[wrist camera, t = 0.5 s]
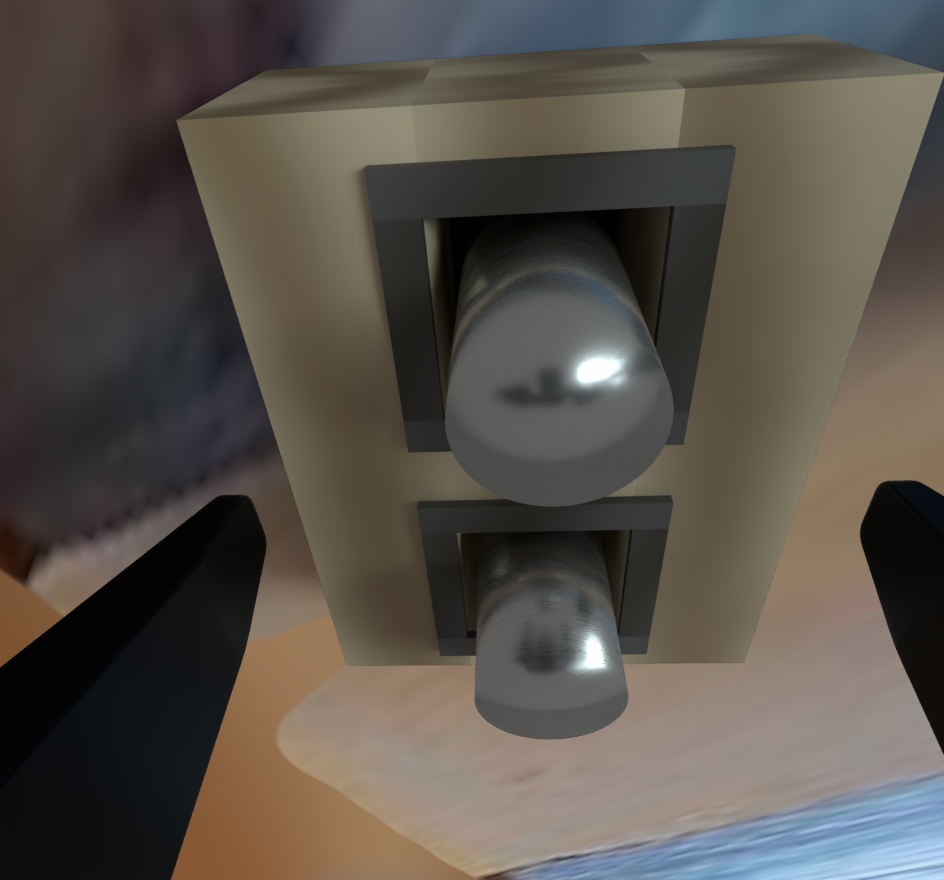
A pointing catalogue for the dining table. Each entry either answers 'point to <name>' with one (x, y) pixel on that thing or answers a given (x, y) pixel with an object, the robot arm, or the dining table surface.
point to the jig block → (649, 272)
